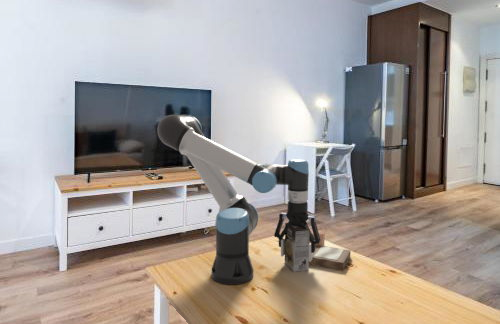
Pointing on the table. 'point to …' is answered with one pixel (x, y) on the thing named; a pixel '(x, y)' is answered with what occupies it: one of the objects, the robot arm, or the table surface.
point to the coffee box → (297, 247)
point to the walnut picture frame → (330, 257)
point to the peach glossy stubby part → (322, 237)
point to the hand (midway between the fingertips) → (296, 257)
